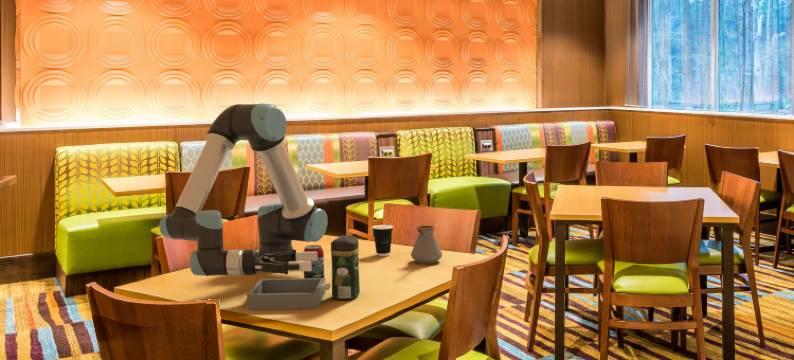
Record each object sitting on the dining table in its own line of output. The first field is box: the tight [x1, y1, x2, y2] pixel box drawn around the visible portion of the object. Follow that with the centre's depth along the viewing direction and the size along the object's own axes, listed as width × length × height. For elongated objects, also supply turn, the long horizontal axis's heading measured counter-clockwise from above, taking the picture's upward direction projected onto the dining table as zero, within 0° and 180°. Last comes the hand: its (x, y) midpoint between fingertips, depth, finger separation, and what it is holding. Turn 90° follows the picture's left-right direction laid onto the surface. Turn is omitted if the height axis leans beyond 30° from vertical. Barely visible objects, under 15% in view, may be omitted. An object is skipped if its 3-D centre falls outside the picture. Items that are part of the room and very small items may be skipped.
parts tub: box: [246, 277, 331, 311], centre depth 226 cm, size 18×23×4 cm
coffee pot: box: [410, 225, 443, 265], centre depth 269 cm, size 21×12×15 cm, turn 168°
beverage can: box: [302, 244, 325, 279], centre depth 247 cm, size 7×7×12 cm
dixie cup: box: [371, 224, 394, 257], centre depth 287 cm, size 8×8×11 cm
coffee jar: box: [330, 234, 361, 301], centre depth 228 cm, size 10×8×19 cm
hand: (314, 261), depth 225 cm, fingers open, 13 cm apart
